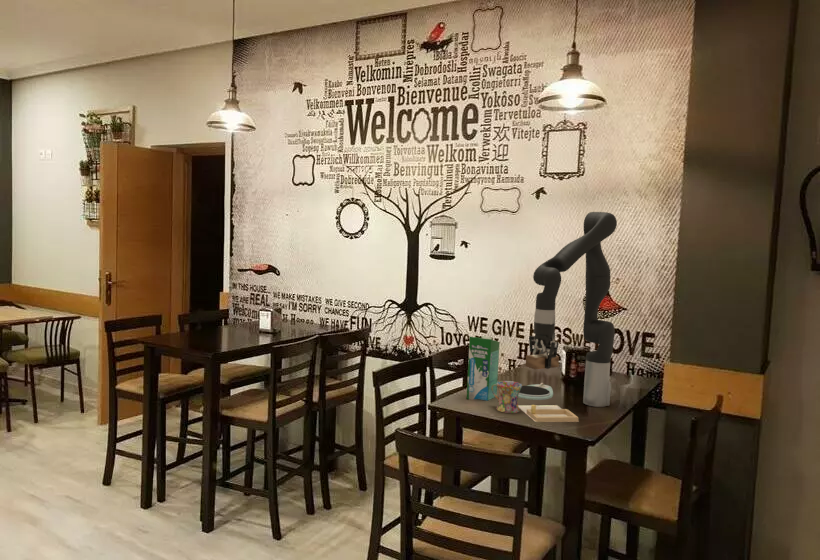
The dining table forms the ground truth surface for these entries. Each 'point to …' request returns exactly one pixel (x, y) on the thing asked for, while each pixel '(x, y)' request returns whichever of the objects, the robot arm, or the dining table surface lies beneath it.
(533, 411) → the wooden tray
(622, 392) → the dining table surface
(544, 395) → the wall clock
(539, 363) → the brown wooden block
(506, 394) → the mug
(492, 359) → the milk carton
